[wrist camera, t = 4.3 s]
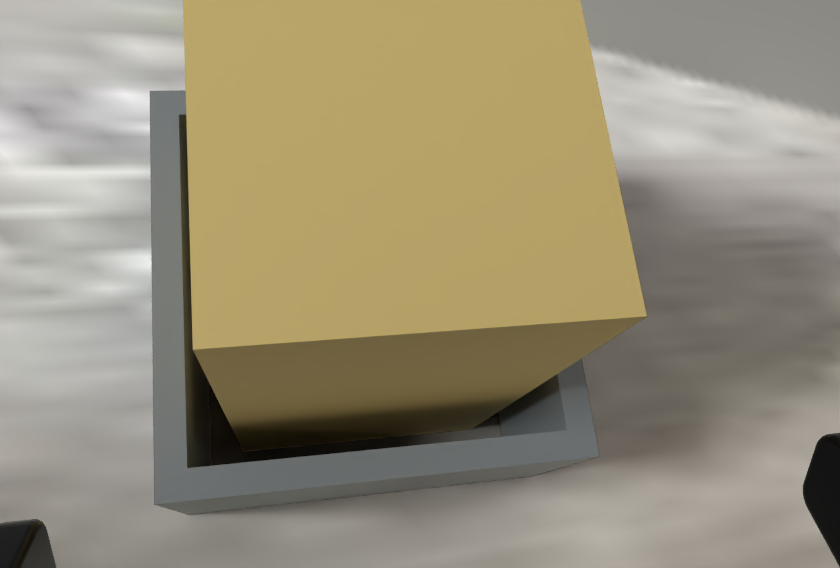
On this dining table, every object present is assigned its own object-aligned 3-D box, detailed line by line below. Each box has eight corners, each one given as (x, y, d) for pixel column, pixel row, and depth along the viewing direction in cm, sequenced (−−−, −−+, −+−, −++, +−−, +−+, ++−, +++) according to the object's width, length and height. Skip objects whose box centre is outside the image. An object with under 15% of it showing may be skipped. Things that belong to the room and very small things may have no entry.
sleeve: (529, 476, 21) (599, 456, 16) (187, 514, 19) (154, 504, 14) (483, 178, 23) (532, 85, 19) (180, 189, 22) (150, 91, 17)
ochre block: (471, 429, 21) (646, 316, 11) (243, 451, 20) (193, 350, 9) (443, 223, 23) (571, -44, 12) (233, 233, 22) (181, -51, 11)
